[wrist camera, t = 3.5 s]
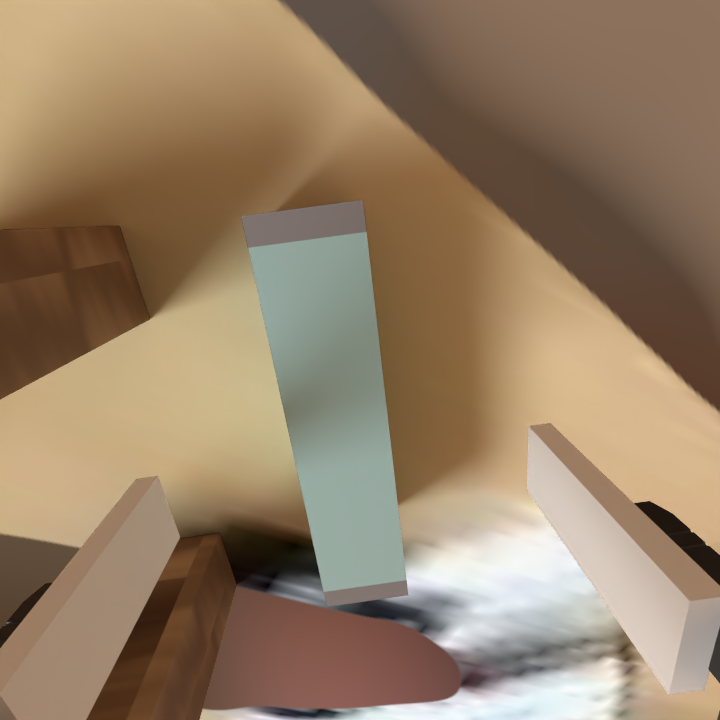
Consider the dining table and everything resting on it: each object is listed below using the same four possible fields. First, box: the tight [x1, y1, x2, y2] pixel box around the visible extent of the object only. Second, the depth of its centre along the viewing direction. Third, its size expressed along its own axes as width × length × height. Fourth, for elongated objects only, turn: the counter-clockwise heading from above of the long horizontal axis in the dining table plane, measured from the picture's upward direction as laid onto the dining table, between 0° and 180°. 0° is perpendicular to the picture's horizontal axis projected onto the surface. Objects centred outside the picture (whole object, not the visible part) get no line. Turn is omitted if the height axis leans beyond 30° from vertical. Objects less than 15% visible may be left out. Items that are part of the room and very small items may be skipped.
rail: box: [241, 200, 408, 607], centre depth 18 cm, size 18×4×6 cm, turn 7°
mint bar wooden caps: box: [0, 226, 237, 720], centre depth 17 cm, size 23×8×10 cm, turn 7°
